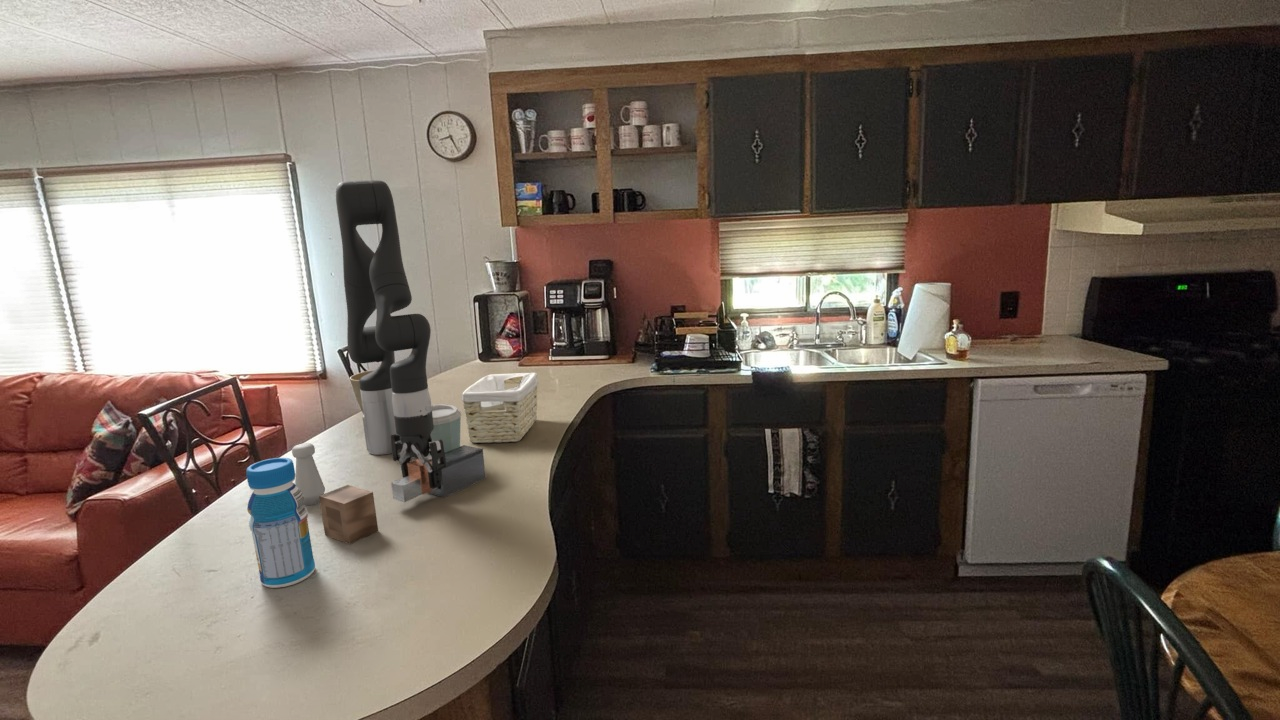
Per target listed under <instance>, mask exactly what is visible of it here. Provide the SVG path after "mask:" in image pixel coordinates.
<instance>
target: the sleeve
mask: <svg viewBox="0 0 1280 720" xmlns="http://www.w3.org/2000/svg"><path fill="white" fill-rule="evenodd" d="M445 458H446V465H447V466H446V467H445V468H442V469H440V470H439V472H440V481H441V486H440V487H438V488H436V489H434V490H432V491H430V492H428V493H427V494H431V495H433V496H434V495H435V496H438V497H443V498H446V497H449V496H451V495H452V494H455V493H457V492H459V491H461V490H464V489H465V488H468V487H470V486H472V485H474V484H477V483H478V482H481V481H483V480H485V479H486V467H485V466H486V465H485V458H484V449H483V448H480V447H476V446H475V447H474V446H470V445H464V444H463V445H460V447H458V448H455V449H453V450H450V451H448V452H445ZM438 461H439V463H441V462H440V458H439V459H438ZM431 463H432V461H431ZM432 466H433V463H432Z"/></svg>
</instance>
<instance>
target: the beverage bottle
mask: <svg viewBox="0 0 1280 720" xmlns="http://www.w3.org/2000/svg"><path fill="white" fill-rule="evenodd" d="M245 470H246V474H245V475H246V479H247V484H248V487H249V489H250V491H251V490H252V492H251V495H250V497H249V500H248V503H247V510H246V511H247V513H248V514H249V515H250V519H249V522H248V524H249V525H248V526H249V530H250V531H251V534H252V540H253V547H254V550H255V556H256V562H257V566H258V572H259V573H258V574H259V579H260V583H261V584H262V585H263V586H265V587H266V588H271V589H272V588H273V589H277V588H285V587H290V586H293V585H296V584H299V583H300V582H302V581H303V582H304V581H305V580H306V579H307V578H309V577H310V576H312V574H313V573H314V571H315V569H316V562H315V559H314V554H313V553H314V552H313V549H312V540H311V536H310V528H309V522H308V516H309V515H308V514H309V513H308V508H307V507H306V506H304V505H303V501H304V495H303V493H302V492H301V490H300V489H299V488H298V487H297V486H296V485H295V483H294V481H295V477H296V469H295V464H294V462H293V459H291V458H288V457H274V458H268V459H264V460H260V461H257V462H254V463H253V464H250V465H249V466H247V468H246V469H245Z"/></svg>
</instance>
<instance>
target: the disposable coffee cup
mask: <svg viewBox="0 0 1280 720" xmlns="http://www.w3.org/2000/svg"><path fill="white" fill-rule="evenodd" d="M431 406H432V415H433V424H434V429H433V431H432V432H431V438H432V440H433V441H438V440H442V441H443V446H444V452H448V451H450V450H453V449H455V448H458V447H461V416H462V412H461V411H460V410H459V408H457V407H456V406H455V405H452V404H445V403H444V404H443V403H441V404H439V403H437V404H433V405H432V404H431ZM429 456H431V455H430V453H429V454H428V456H427V457H429Z"/></svg>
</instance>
